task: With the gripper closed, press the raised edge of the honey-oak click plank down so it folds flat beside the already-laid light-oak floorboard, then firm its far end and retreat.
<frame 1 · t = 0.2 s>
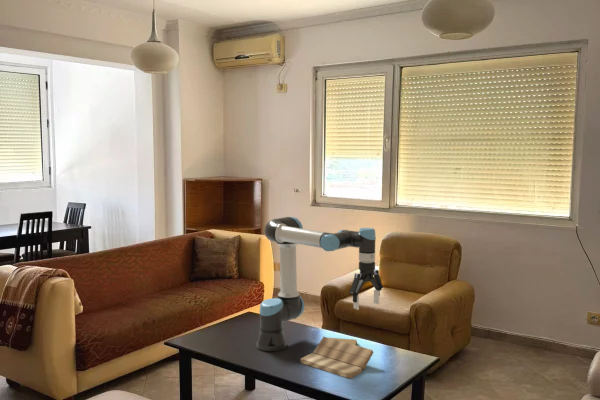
hand: (366, 306, 245), 27 cm above the table, fingers open, 13 cm apart
click plank: (342, 352, 248), point 4 cm above the table, hinge at 35.0°
crown molding: (341, 348, 267), on the table
laid board: (330, 367, 241), on the table
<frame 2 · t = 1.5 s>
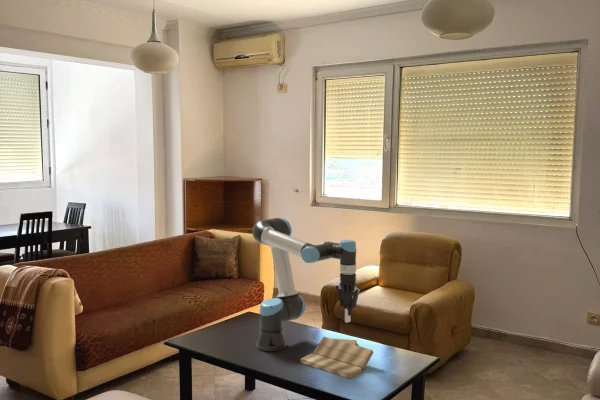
hand: (347, 321, 250), 18 cm above the table, fingers closed
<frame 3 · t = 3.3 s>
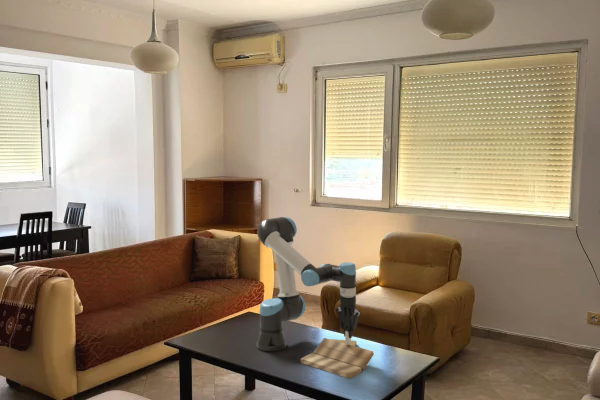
hand: (348, 343, 251), 7 cm above the table, fingers closed
click plank: (342, 353, 249), point 4 cm above the table, hinge at 29.4°, touching gripper
crown molding: (340, 349, 265), on the table
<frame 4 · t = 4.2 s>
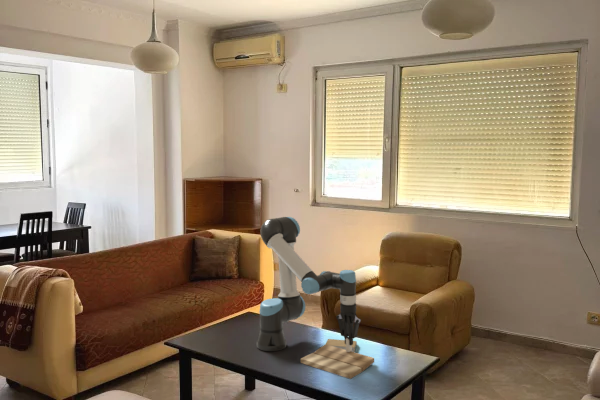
hand: (348, 351, 252), 4 cm above the table, fingers closed
click plank: (343, 357, 249), point 2 cm above the table, hinge at 7.7°, touching gripper
everything else where it was.
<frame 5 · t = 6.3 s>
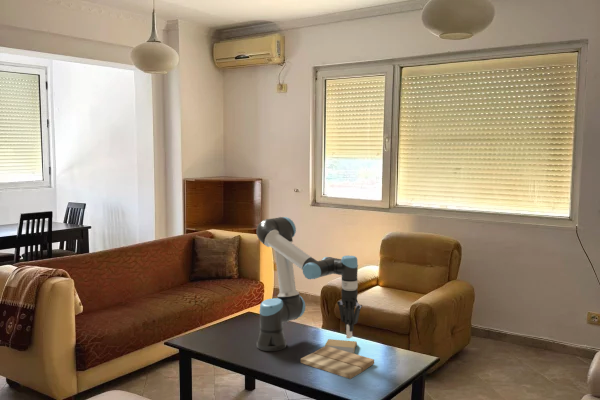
hand: (349, 337, 250), 11 cm above the table, fingers closed
click plank: (343, 357, 249), point 1 cm above the table, hinge at 3.3°
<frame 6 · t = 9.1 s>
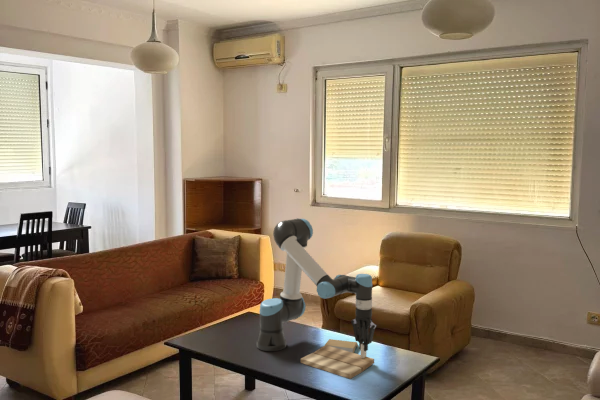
hand: (363, 356, 246), 3 cm above the table, fingers closed
click plank: (343, 357, 249), point 1 cm above the table, hinge at 5.0°, touching gripper
everything else where it was.
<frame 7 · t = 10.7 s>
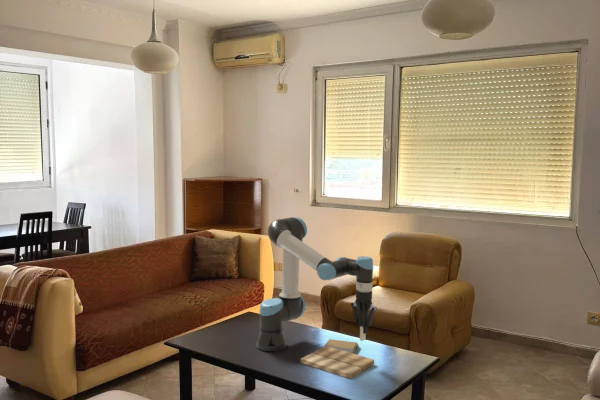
hand: (362, 339, 245), 11 cm above the table, fingers closed
click plank: (343, 358, 249), point 1 cm above the table, hinge at 2.8°
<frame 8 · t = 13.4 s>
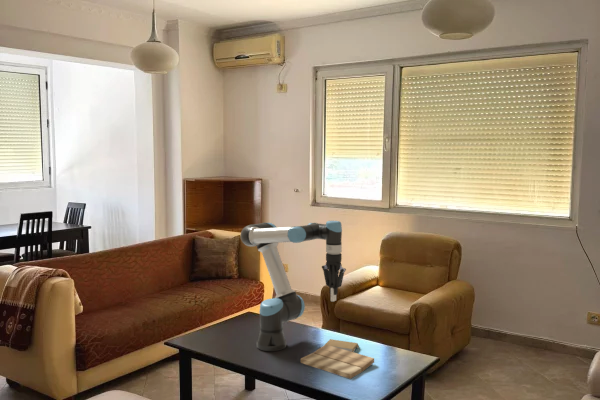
hand: (333, 300, 256), 26 cm above the table, fingers closed
click plank: (343, 357, 249), point 2 cm above the table, hinge at 6.8°
at the end: click plank at +7° (first picture: +35°); click plank touching nothing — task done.
